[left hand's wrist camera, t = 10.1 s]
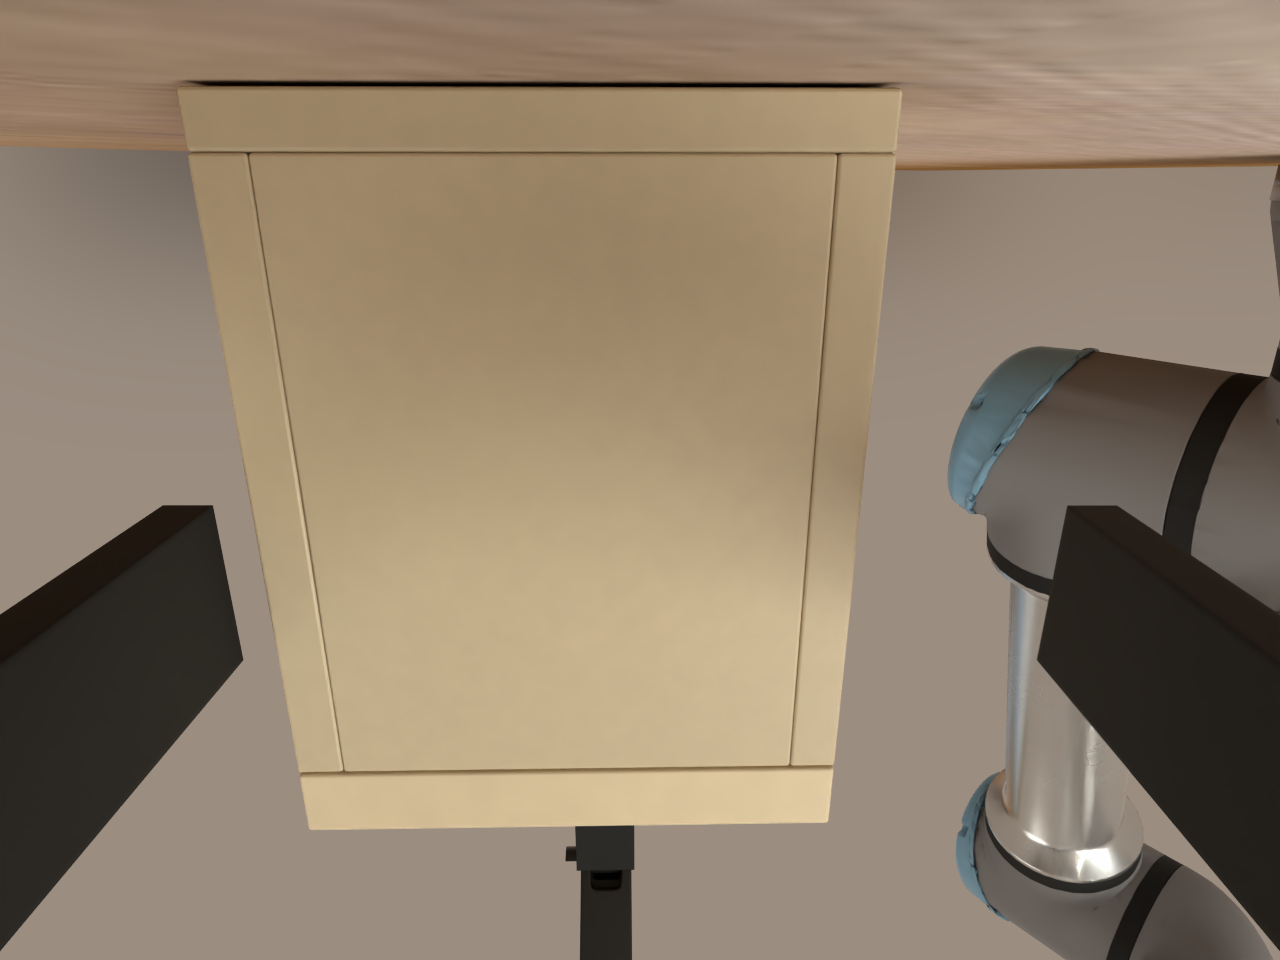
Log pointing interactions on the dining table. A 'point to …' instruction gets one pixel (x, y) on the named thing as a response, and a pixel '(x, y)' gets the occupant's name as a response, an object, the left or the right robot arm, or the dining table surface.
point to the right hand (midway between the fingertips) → (599, 872)
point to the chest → (551, 410)
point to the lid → (567, 797)
